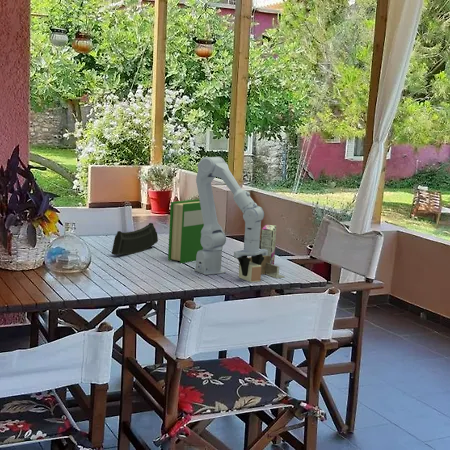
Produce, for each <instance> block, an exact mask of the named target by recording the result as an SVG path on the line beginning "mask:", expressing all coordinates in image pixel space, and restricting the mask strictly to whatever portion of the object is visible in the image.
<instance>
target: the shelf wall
mask: <svg viewBox="0 0 450 450" xmlns="http://www.w3.org/2000/svg"><path fill="white" fill-rule="evenodd" d="M247 257H248V259H250V262H252V258H251V256H247ZM263 257H264V260H263V262H262V263H261V276H262V275H266V274H265V268H266V263H270V256H263ZM238 263H239V262H238ZM239 266H240V263H239V264H238V267H239Z"/></svg>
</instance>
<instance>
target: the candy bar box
mask: <svg viewBox="0 0 450 450" xmlns="http://www.w3.org/2000/svg"><path fill="white" fill-rule="evenodd" d="M276 238H277V225H271V224H264V226H263V227H261V231H260V249H266V250H268V255H262V256H270V264H273V265H275V260H276V259H275V257H276V254H275V253H276V241H277V239H276Z"/></svg>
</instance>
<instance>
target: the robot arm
mask: <svg viewBox="0 0 450 450" xmlns="http://www.w3.org/2000/svg"><path fill="white" fill-rule="evenodd" d="M216 177H217V178H220V179H221V181H222V182H223V183H224V184H225V185H226V187H228V189H229V190H230V192H231V193H232V194H233V196H232V197H233V201H234V202H235V204H236V206H237V207H238V208H239V210H240V211H241V212H242V219H243V220H244V240H243V249H240V250H236V251H233V258H237V261H238V263H240V266H241V270H242V275H243V276H247V274H248V266H249V262H250V259H248V257H251V258H252V263H255V264H258V265H261V263H262V262H263V260H264V257H263V256H262V255H268V250H266V249H261V248H260V245H261V231H262V226H261V225H262V221H263V220H264V218H265V212H264V209H263V207H261V206H259V205H258V204H257V203H256V202H255V201H254V199H253V198H252V197H251V193H250V191H247V190H246V189H242V188H241V186H240V184H239V183H238V181H237V180H236V178H235V177H234V175H233V174H232V172H231V170H230V169H229V164H228V163H227V162H226V161H225V160H224V158H222V156H210V157H209V156H204V157H202V159H200V161H199V162H198V163H197V174H196V179H195V183H196V190H197V193H198V199H199V200H200V206H201V211H202V217H203V223H204V226H203V228H202V230H201V240H200V242H201V245H202V247H203V250H200V251H198V252H197V255H196V261H195V268H194V271H195V272H198V273H199V274H202V275H206V276H207V275H218V274H226V271H225V270H222V258H223V247H224V246H225V245H226V243H227V236H226V233H225V232H224V230H223V226H221V224H219V219H218V215H217V209H216V203H215V198H214V193H213V187H212V186H213V185H212V182H213V181H214V180H215V178H216Z"/></svg>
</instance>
